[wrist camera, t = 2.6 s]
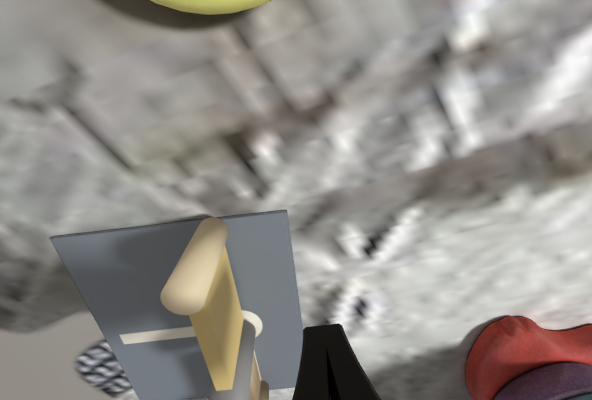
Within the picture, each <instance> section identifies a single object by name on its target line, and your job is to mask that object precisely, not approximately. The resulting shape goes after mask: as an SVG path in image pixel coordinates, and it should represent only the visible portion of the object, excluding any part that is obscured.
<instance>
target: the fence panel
mask: <svg viewBox="0 0 592 400" xmlns="http://www.w3.org/2000/svg"><path fill="white" fill-rule="evenodd" d="M228 234H229V229H228V226H227V224H226V223H225V222H224V221H223V220H221V219H219V218H215V217H210V218H206V219H204V220H203V221H202V222H201V223H200V224H199V226H198V228H197V230H196V232H195V233H194V235H193V237H192V239H191V240H190V242H189V244H188V246H187V247H186V249H185V251H184V253H183V254H182V256H181V258H180V260H179V261H178V263H177V265H176V267H175V269H174V270H173V272H172V274H171V276H170V277H169V279H168V281H167V283H166V284H165V286H164V288H163V290H162V292H161V295H160V298H161V302H162V304H163V305H164V306H165V308H167V309H168V310H169V311H171V312H173V313H175V314H179V315H189V317H190V320H191V323H192V326H193V328H194V331H195V334H196V337H197V339H198V342H199V345H200V348H201V351H202V353H203V356H204V359H205V362H206V364H207V367H208V370H209V373H210V375H211V378H212V381H213V383H212V387H211V392H210V396H209V400H249V391H250V382H251V373H252V363H253V354H254V345H255V335H256V329H255V326H254V325H253V324H252V323H250V322H248V321H246V320H244V318H243V314H242V310H241V306H240V302H239V298H238V294H237V290H236V286H235V283H234V279H233V275H232V271H231V267H230V263H229V259H228V255H227V251H226V247H225V243H226V240H227V237H228Z"/></svg>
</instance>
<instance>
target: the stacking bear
mask: <svg viewBox="0 0 592 400" xmlns="http://www.w3.org/2000/svg"><path fill="white" fill-rule="evenodd" d="M465 378H466V385H467V388H468V390H469V393H470V394H471V396H472V398H473V399H474V400H592V325H588V326H584V327H580V328H577V329H573V330H568V331H550V330H545V329H542V328H541V327H539V326H538V325H537V324H536V323H535V322H534V321H532V320H531V319H529V318H526V317H512V316H509V317H506V318H503V319H501V320H499V321H497V322H494V323H492V324H490V325H489V326H488V327H487V328H486V329H484V330H483V332H482V333H481V334H480V336H479V337H478V339H477V340H476V342H475V344H474V346H473V348H472V350H471V352H470V354H469V357H468V360H467V364H466V372H465Z"/></svg>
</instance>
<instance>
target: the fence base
mask: <svg viewBox="0 0 592 400" xmlns="http://www.w3.org/2000/svg"><path fill="white" fill-rule="evenodd" d="M249 400H269V385H268V383H267V382H265V381H263V380H261V379H260V375H259V371H258V367H257V363H256V359H255V355H254V354H253V363H252V373H251V382H250V391H249Z"/></svg>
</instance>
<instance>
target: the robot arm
mask: <svg viewBox="0 0 592 400" xmlns="http://www.w3.org/2000/svg"><path fill="white" fill-rule="evenodd" d="M330 396H331V400H381V399H380V397H379V396H378V394H377V393H376V391H375V389H374V388H373V386H372V384H371V383H370V381H369V379H368V377H367V376H366V374H365V372H364V371H363V369H362V367H361V365H360V363H359V362H358V360H357V358H356V356H355V354H354V352H353V350H352V348H351V346H350V344H349V342H348V339H347V337H346V335H345V332H344V330H343V327H342V325H340V324H331V325H322V326H313V327H306V328H305V329H303V344H302V353H301V360H300V366H299V372H298V376H297V381H296V386H295V391H294V395H293V399H292V400H330Z"/></svg>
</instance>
